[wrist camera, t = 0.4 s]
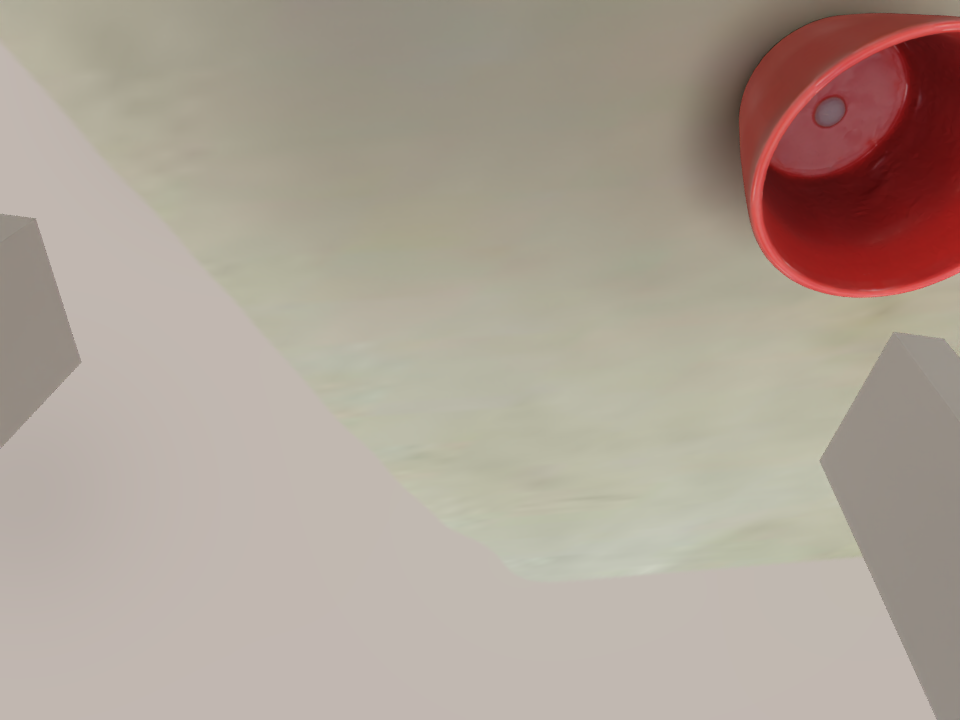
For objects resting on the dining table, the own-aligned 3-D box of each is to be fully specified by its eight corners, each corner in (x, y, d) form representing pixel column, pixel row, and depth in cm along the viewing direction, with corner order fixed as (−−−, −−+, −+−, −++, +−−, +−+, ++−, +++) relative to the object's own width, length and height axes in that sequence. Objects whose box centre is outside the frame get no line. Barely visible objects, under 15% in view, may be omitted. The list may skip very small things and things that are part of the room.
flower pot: (888, 216, 36) (983, 314, 28) (681, 195, 36) (718, 287, 28) (993, -9, 29) (1153, 36, 22) (741, -32, 30) (810, 4, 22)
